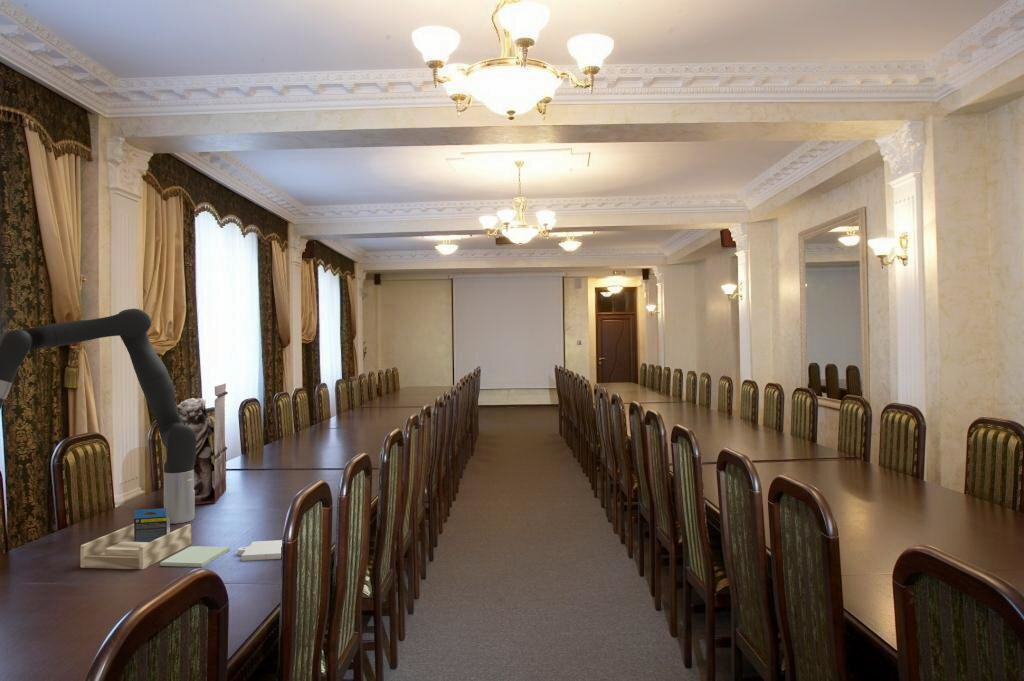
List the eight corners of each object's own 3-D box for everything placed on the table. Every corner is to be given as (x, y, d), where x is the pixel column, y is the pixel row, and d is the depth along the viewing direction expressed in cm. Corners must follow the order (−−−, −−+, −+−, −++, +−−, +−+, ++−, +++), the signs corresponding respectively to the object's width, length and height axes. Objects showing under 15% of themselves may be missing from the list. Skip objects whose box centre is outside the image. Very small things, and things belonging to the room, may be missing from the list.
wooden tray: (135, 542, 195) (135, 523, 195) (191, 544, 194) (191, 524, 194) (80, 567, 173) (80, 545, 173) (142, 569, 172) (142, 547, 172)
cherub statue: (178, 494, 261) (178, 384, 261) (227, 491, 266) (227, 383, 266) (164, 507, 239) (164, 387, 239) (218, 504, 244) (218, 386, 244)
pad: (190, 549, 188) (190, 546, 188) (229, 550, 187) (229, 547, 187) (160, 565, 174) (160, 562, 174) (202, 566, 173) (202, 563, 173)
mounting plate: (232, 562, 178) (232, 555, 178) (244, 548, 191) (244, 542, 191) (298, 559, 181) (298, 552, 181) (306, 545, 194) (306, 538, 194)
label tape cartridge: (170, 545, 192) (170, 504, 193) (166, 549, 189) (166, 508, 189) (138, 547, 190) (138, 506, 191) (133, 552, 187) (133, 509, 187)
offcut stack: (117, 557, 183) (117, 541, 183) (156, 558, 182) (156, 542, 182) (99, 565, 176) (99, 549, 176) (139, 566, 175) (139, 550, 175)
